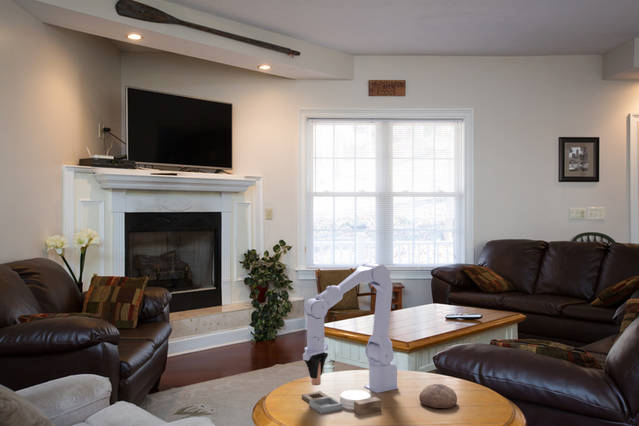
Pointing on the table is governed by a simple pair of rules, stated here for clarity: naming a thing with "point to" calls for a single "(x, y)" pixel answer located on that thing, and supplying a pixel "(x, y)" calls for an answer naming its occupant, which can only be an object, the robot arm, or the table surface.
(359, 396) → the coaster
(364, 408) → the brown rectangular block
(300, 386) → the table surface
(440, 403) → the decorative stone
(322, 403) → the tray
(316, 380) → the dowel
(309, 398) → the collar
